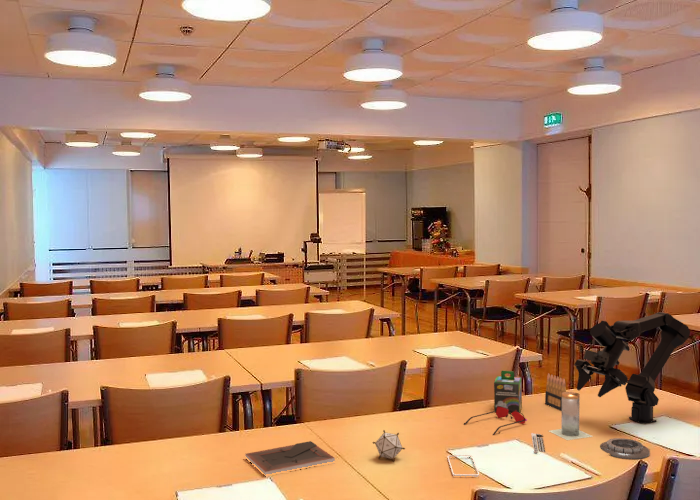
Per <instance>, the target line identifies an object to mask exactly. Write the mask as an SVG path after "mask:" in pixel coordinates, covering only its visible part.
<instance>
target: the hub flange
mask: <svg viewBox="0 0 700 500" xmlns="http://www.w3.org/2000/svg"><path fill="white" fill-rule="evenodd" d="M599 448H600V450H601V451H603V452H604V453H606V454H608V456H610V457H613V458H618V459H623V460H642V459H646V458H648V457H649V456H650V454H651V451H650V449H649V448H648V447H646V446H645V445H643V444H642V443H641V442H640V441H638V440H635V439H631V438H630V439H629V438H626V437H624V438H623V437H622V438H621V437H615V438H609V439H608V440H607V441H605V442H602V443H600V445H599Z"/></svg>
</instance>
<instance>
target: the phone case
mask: <svg viewBox="0 0 700 500" xmlns="http://www.w3.org/2000/svg"><path fill="white" fill-rule="evenodd" d="M457 456H470V457H472V459H471V461H472V460H473V462H474V464H473V466H474V465H475V467H476V469H475V471H477V472H476V473H469V474H467V473H465V474H464V473H462V474H461V473H454V470H453V467H452V464H451V461H450V458H449V457H453V458H454V457H457ZM447 458H448V459H447V462H449V463H448V466H449V465H450V466H449V469H450V468H451V469H450V471H451V476H452V475H453V476H460V477H461V476H465V477H466V476H472V477H473V476H474V477H478V476H479V477H480V472H479V469H478V467H477V464H476V463H475V459H474V457H473V456H472V455H468V454H465V455H464V454H463V455H461V454H459V455H452V454H451V455H447ZM473 462H472V463H473ZM475 467H474V468H475ZM477 473H478V474H477ZM453 476H452V477H453Z"/></svg>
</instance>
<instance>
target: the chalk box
mask: <svg viewBox="0 0 700 500" xmlns="http://www.w3.org/2000/svg"><path fill="white" fill-rule="evenodd" d="M506 374H508V375H510V376H506ZM522 393H523V392H522V377H521V376H515V371H513V370H501V371H500V376H499V375H497V376H496V377H495V380H494V382H493V400H494V401H493V402H494V403H493V404H494V405H493V406H494V409H493V410H494V411H497V409H496V407H497V406H501V407H505V408H508V410H509V409H511V410H509V411H508V414H511V413H512V412H514V411H515V410H516V411H518V412H520V413H521V410H522V408H523V400H522V399H523V398H522V397H523V395H522ZM512 410H514V411H512Z"/></svg>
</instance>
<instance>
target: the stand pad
mask: <svg viewBox="0 0 700 500" xmlns="http://www.w3.org/2000/svg"><path fill="white" fill-rule="evenodd" d="M548 432H549V433H551V434H554V435H555V436H557V437H559V438H562V439H564V440H566V441H573V440H579V439H587V438H592V437H594V436H593V435H592V434H589V433H586V432H584V431H583V430H580V429H579V435H578V436H566V435H563V434H562V433H561V428H559V429H552V430H548Z"/></svg>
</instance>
